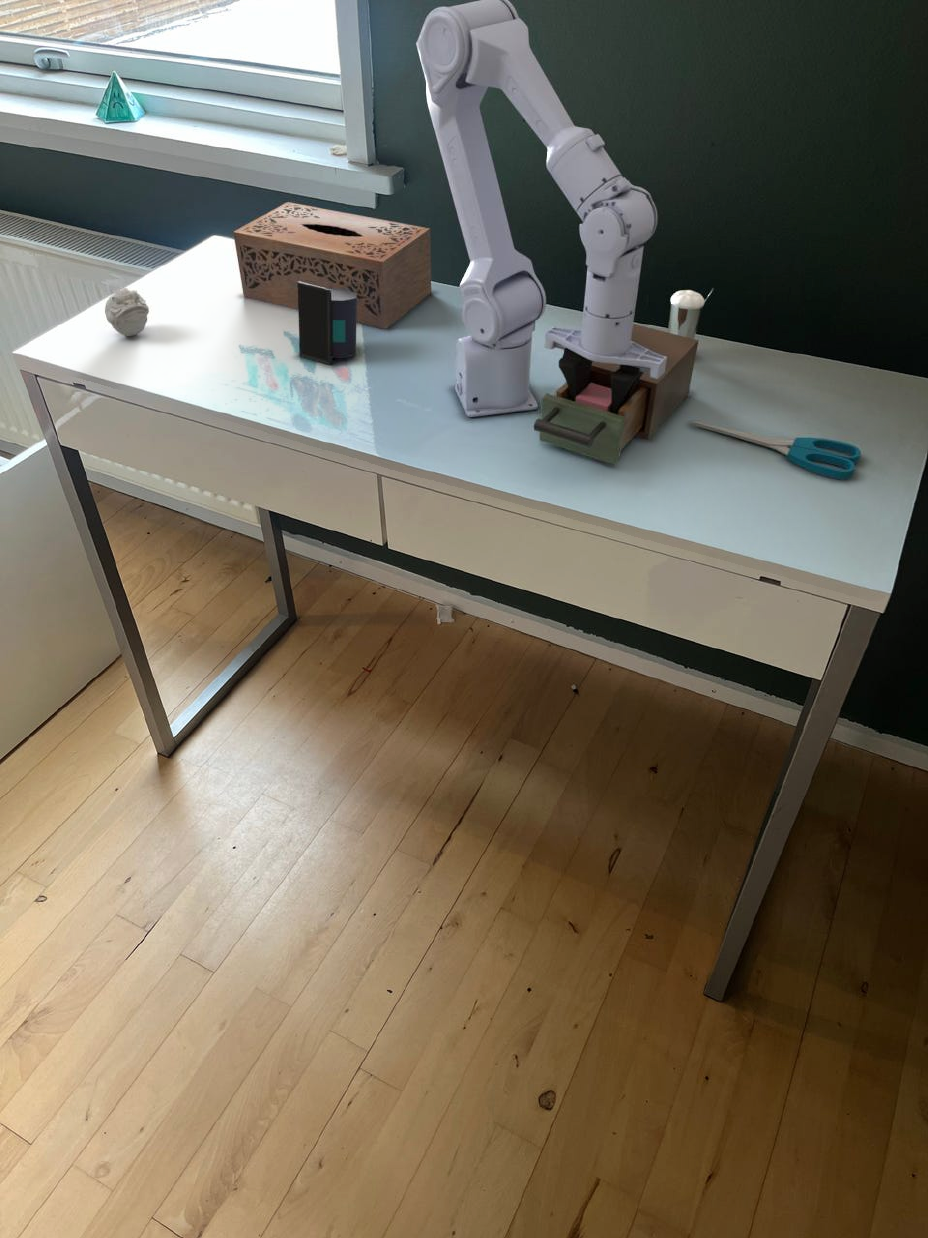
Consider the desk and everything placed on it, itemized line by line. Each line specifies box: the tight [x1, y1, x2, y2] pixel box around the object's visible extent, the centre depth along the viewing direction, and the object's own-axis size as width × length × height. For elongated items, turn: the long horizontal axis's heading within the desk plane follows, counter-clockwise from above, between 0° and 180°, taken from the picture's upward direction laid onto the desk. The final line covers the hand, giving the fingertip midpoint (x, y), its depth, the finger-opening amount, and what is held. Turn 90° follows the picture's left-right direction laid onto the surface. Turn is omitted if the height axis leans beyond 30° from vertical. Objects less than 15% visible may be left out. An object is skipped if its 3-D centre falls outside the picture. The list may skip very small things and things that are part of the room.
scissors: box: [693, 421, 862, 480], centre depth 113 cm, size 7×1×20 cm
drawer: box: [533, 370, 651, 465], centre depth 111 cm, size 17×10×6 cm, turn 148°
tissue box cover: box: [232, 201, 432, 330], centre depth 142 cm, size 26×14×10 cm, turn 64°
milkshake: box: [667, 288, 714, 339], centre depth 127 cm, size 4×5×10 cm
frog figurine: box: [104, 287, 150, 337], centre depth 133 cm, size 6×7×7 cm
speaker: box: [297, 281, 357, 366], centre depth 127 cm, size 8×6×10 cm
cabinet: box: [591, 323, 699, 440], centre depth 118 cm, size 13×11×8 cm
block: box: [575, 383, 612, 412], centre depth 112 cm, size 4×4×4 cm
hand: (597, 414), depth 112 cm, fingers closed on block, 4 cm apart
